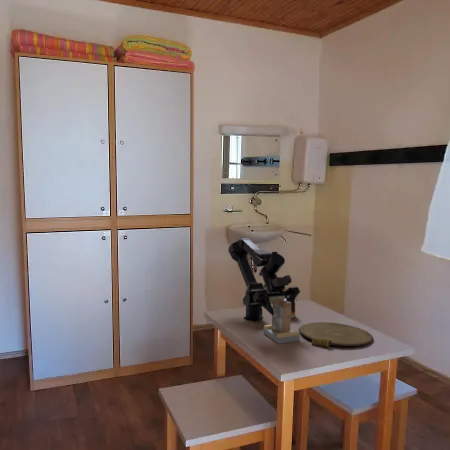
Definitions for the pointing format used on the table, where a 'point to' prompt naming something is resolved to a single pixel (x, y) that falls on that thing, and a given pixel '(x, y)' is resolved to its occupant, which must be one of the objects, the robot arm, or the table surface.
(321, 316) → the table surface
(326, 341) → the decorative disc
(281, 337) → the rail board
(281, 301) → the wooden box
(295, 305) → the supplement bottle
